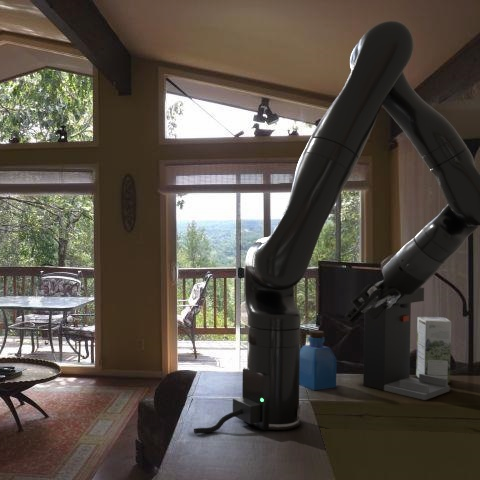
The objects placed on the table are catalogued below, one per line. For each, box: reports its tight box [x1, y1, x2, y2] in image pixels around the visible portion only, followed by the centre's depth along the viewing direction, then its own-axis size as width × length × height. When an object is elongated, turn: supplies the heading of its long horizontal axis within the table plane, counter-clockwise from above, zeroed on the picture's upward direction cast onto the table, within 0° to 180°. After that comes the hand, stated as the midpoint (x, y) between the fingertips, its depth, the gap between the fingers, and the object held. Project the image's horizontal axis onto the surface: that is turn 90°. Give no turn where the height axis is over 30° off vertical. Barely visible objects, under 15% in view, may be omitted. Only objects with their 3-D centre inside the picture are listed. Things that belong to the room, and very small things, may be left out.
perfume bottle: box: [299, 329, 338, 391], centre depth 128 cm, size 6×6×12 cm
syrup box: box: [415, 316, 453, 384], centre depth 134 cm, size 6×6×14 cm
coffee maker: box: [362, 286, 451, 401], centre depth 126 cm, size 11×14×22 cm
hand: (359, 317), depth 120 cm, fingers open, 8 cm apart
